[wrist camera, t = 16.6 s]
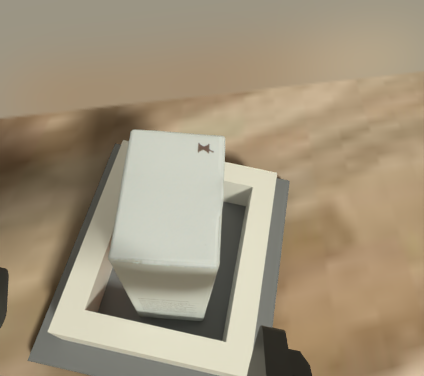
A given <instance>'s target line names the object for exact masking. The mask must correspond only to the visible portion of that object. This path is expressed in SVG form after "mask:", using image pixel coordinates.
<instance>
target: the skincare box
mask: <svg viewBox="0 0 424 376" xmlns="http://www.w3.org/2000/svg"><path fill="white" fill-rule="evenodd" d="M224 167H225V137H224V136H216V135H201V134H188V133H177V132H165V131H154V130H132V131H131V133H130V138H129V143H128V148H127V153H126V158H125V163H124V168H123V174H122V180H121V187H120V193H119V200H118V206H117V211H116V217H115V222H114V228H113V234H112V239H111V245H110V251H109V255H108V260H109V261H110V263H111V265H112V267H113V269H114V270H115V272H116V274H117V276H118V278H119V280H120V282H121V283H122V285H123V287H124V289H125V291H126V293H127V295H128V296H129V298H130V300H131V302H132V304H133V306H134V307H135V309H136V311H137V313H138V315H139V316H140V317H155V318H166V319H179V320H192V321H203V319H204V316H205V312H206V309H207V305H208V302H209V299H210V296H211V292H212V289H213V286H214V282H215V278H216V275H217V271H218V268H219V264H220V245H221V223H222V208H223V199H224Z"/></svg>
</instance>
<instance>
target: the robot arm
mask: <svg viewBox="0 0 424 376" xmlns="http://www.w3.org/2000/svg"><path fill="white" fill-rule="evenodd" d="M7 296H8V271H7V269H5V268H1V267H0V328H1V326H2V324H3V322H4V320H5V317H6V313H7ZM247 376H312V373H311V369H310V365H309V364H308V362H307V361H306V359H305V358H304V357H303V355H302V354H301V352H300V351H296V350H291V349H288V344H287V338H286V333H285V330H281V329H276V328H272V327H267V326H263V325H261V326H260V327H259V330H258V334H257V337H256V341H255V345H254V349H253V352H252V356H251V360H250V364H249V368H248V373H247Z"/></svg>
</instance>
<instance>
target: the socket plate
mask: <svg viewBox="0 0 424 376" xmlns="http://www.w3.org/2000/svg"><path fill="white" fill-rule="evenodd" d="M128 143H129V141H125V140H123V141H122V144H121V145H120V144H115V146H114V148H113V151H112V153H111V155H110V158H109V160H108V163H107V165H106V168H105V170H104V173H103V175H102V178H101V180H100V183H99V185H98V188H97V190H96V193H95V195H94V198H93V200H92V202H91V205H90V207H89V210H88V212H87V215H86V217H85V220H84V222H83V225H82V227H81V230H80V232H79V235H78V237H77V240H76V242H75V244H74V247H73V249H72V252H71V254H70V257H69V259H68V262H67V264H66V267H65V269H64V272H63V274H62V277H61V279H60V282H59V284H58V287H57V289H56V291H55V294H54V296H53V299H52V301H51V304H50V306H49V309H48V311H47V314H46V316H45V319H44V321H43V324H42V326H41V329H40V331H39V333H38V336H37V338H36V341H35V343H34V346H33V348H32V351H31V353H30V356H29V358H28V361H31V362H36V363H40V364H44V365H49V366H53V367H57V368H61V369H66V370H70V371H74V372H79V373H83V374H87V375H92V376H247V373H248V368H249V364H250V360H251V356H252V352H253V349H254V345H255V341H256V337H257V334H258V330H259V327H260V326H261V325H263V326H267V327H272V326H273V317H274V309H275V300H276V292H277V283H278V275H279V266H280V258H281V249H282V241H283V232H284V224H285V215H286V207H287V198H288V190H289V181H288V180H283V179H279V178H277V173H275V172H270V171H266V170H261V169H256V168H252V167H247V166H242V165H238V164H233V163H228V162H225V167H224V199H223V208H222V223H221V245H220V264H219V268H218V271H217V275H216V278H215V282H214V286H213V289H212V292H211V296H210V299H209V302H208V305H207V309H206V312H205V316H204V319H203V321H192V320H179V319H166V318H155V317H140V316H139V315H138V313H137V311H136V309H135V307H134V306H133V304H132V302H131V300H130V298H129V296H128V295H127V293H126V291H125V289H124V287H123V285H122V283H121V282H120V280H119V278H118V276H117V274H116V272H115V270H114V269H113V267H112V265H111V263H110V261H109V260H108V255H109V251H110V245H111V239H112V234H113V228H114V222H115V217H116V211H117V206H118V200H119V193H120V187H121V180H122V174H123V168H124V163H125V158H126V153H127V148H128Z"/></svg>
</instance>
